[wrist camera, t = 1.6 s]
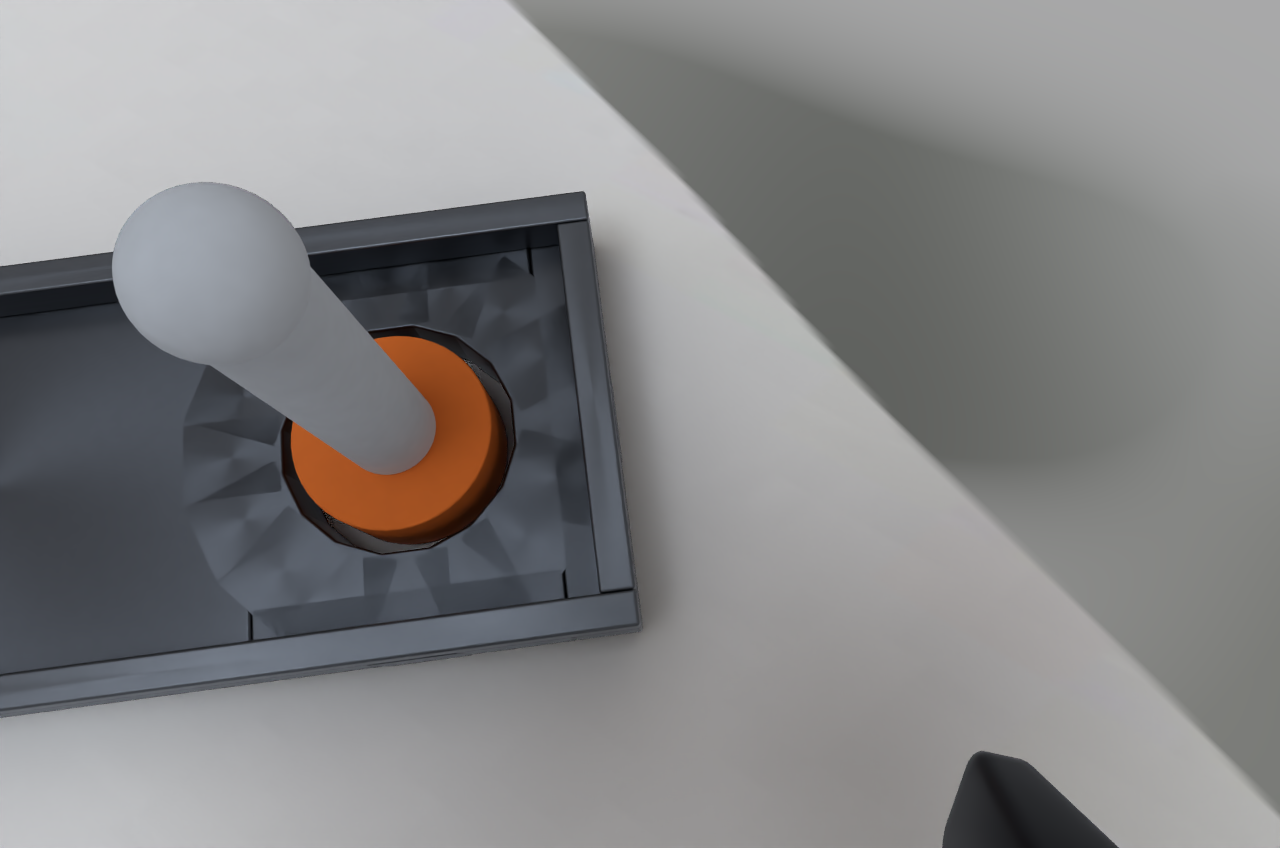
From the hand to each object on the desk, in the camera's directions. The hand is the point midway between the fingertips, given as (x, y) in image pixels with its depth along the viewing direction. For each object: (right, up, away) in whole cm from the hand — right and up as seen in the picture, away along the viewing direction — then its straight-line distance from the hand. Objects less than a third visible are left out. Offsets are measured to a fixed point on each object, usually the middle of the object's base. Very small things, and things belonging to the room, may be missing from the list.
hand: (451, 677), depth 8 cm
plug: (-4, +1, +16) cm, 17 cm away
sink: (-10, +1, +16) cm, 19 cm away
